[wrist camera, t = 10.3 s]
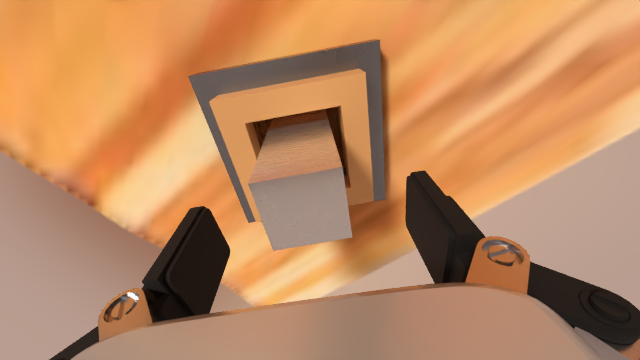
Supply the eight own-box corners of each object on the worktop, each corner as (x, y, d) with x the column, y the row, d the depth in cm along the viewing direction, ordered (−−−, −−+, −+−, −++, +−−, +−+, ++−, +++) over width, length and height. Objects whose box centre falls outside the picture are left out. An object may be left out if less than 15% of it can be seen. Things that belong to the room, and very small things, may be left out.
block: (325, 109, 20) (342, 166, 11) (333, 158, 22) (352, 237, 13) (271, 119, 20) (247, 183, 11) (284, 167, 22) (273, 250, 13)
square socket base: (374, 39, 17) (389, 40, 14) (381, 190, 24) (392, 212, 21) (196, 73, 18) (174, 81, 15) (251, 212, 24) (244, 237, 21)
